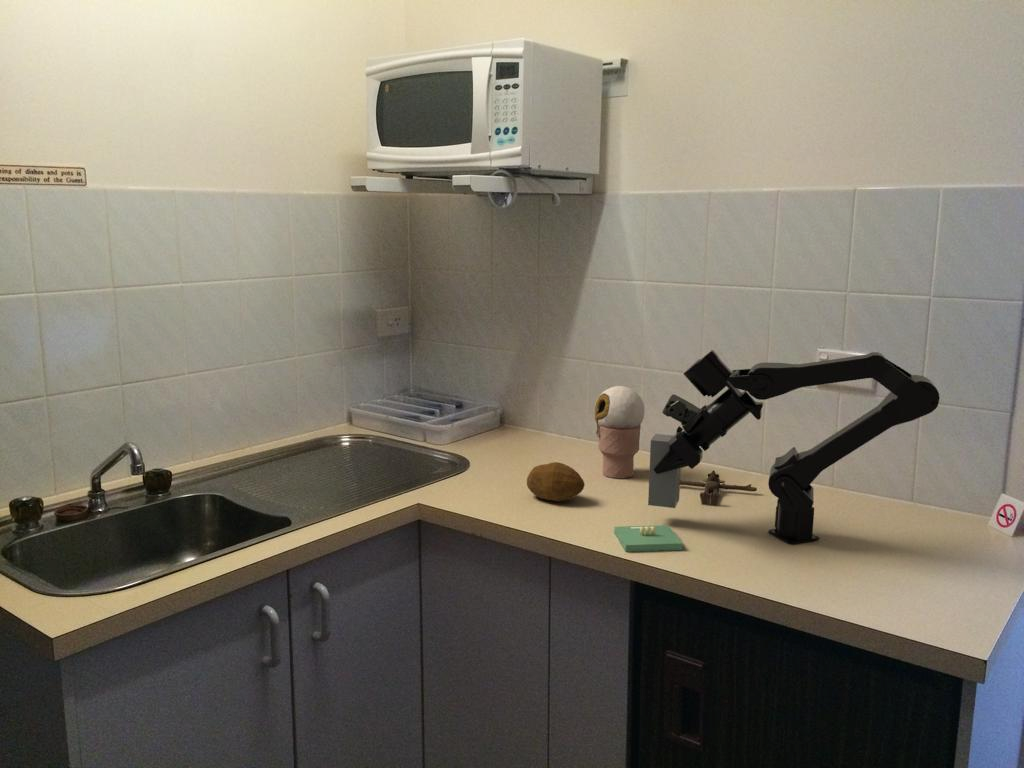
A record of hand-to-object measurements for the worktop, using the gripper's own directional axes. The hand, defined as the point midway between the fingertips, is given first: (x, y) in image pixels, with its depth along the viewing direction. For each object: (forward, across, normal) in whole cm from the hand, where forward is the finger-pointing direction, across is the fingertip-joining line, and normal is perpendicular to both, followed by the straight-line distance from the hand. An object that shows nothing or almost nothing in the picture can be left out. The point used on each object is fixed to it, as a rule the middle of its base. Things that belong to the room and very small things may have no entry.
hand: (657, 467), depth 163 cm
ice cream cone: (+17, -27, -2) cm, 32 cm away
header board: (+7, +11, +8) cm, 15 cm away
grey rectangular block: (+4, 0, +6) cm, 7 cm away
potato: (+23, -6, -8) cm, 25 cm away
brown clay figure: (+2, -20, +14) cm, 24 cm away
